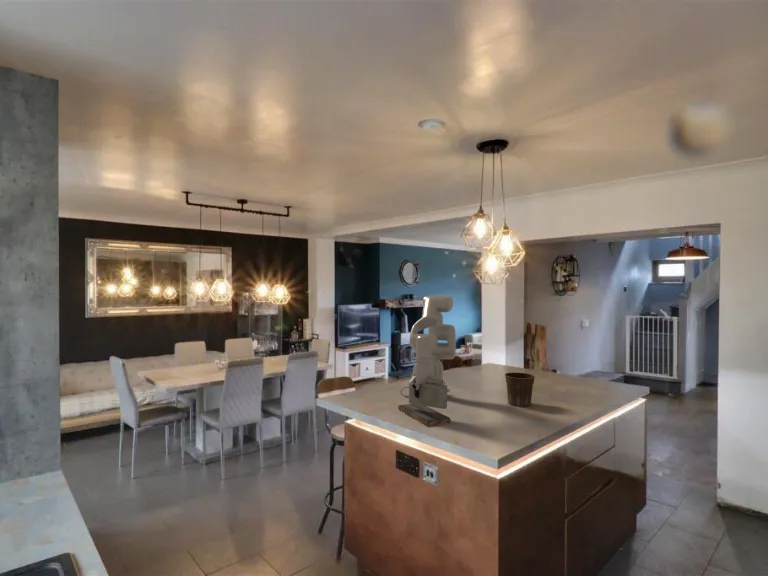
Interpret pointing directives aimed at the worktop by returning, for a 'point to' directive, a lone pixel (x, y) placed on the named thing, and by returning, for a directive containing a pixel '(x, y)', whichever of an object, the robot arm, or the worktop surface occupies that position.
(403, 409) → the brown wooden board
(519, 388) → the plant pot
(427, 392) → the geiger counter
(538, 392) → the worktop surface
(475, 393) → the worktop surface
